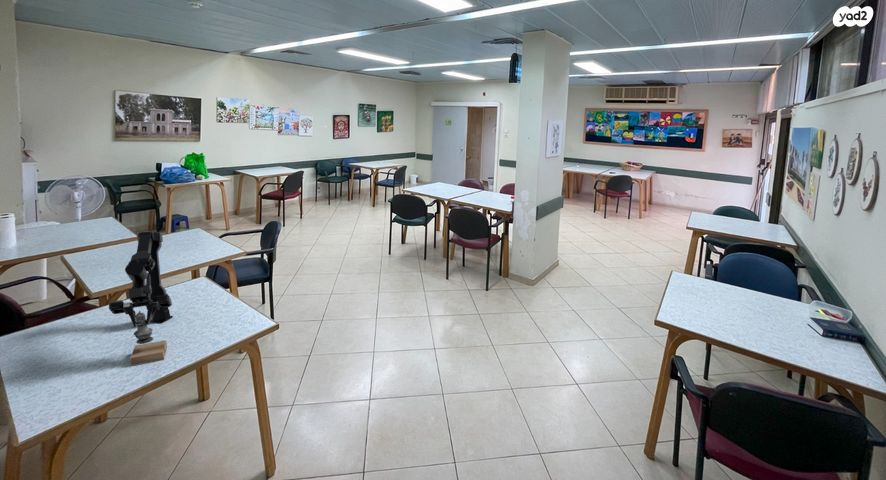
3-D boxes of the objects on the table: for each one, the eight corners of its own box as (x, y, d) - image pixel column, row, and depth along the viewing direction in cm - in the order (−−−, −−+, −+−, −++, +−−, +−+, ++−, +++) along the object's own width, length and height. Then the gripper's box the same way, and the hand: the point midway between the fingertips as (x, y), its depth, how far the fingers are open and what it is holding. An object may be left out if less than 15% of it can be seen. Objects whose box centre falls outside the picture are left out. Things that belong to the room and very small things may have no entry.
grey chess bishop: (138, 346, 161) (133, 315, 157) (132, 340, 164) (127, 311, 161) (156, 339, 165) (151, 310, 162) (150, 335, 168) (145, 306, 165)
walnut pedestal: (136, 352, 169) (135, 345, 168) (166, 347, 173) (165, 340, 172) (131, 365, 160) (130, 358, 159) (163, 359, 164) (162, 352, 163)
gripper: (104, 281, 158) (102, 322, 151) (165, 274, 165) (166, 313, 159) (114, 293, 167) (112, 333, 160) (171, 286, 174) (172, 324, 168)
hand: (141, 325), depth 162 cm, fingers closed on grey chess bishop, 4 cm apart
